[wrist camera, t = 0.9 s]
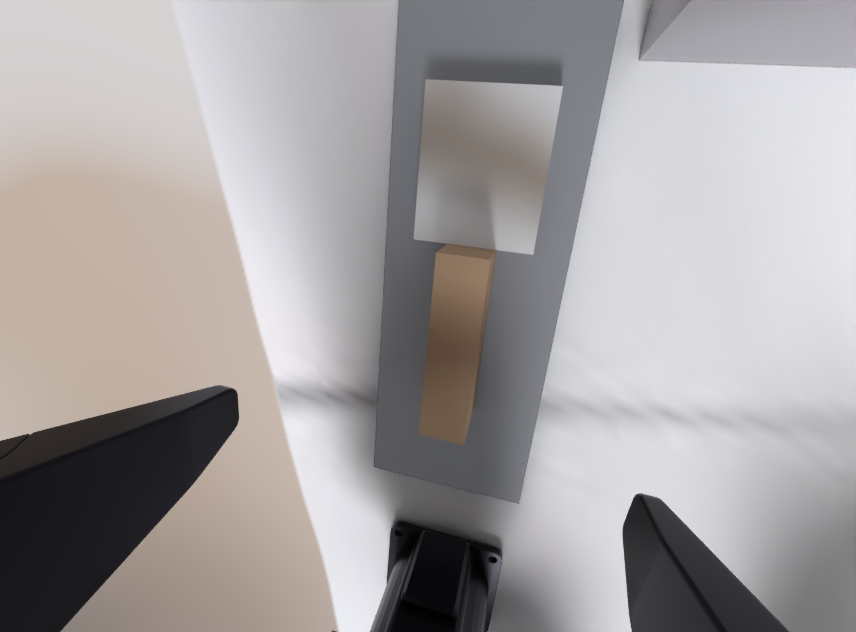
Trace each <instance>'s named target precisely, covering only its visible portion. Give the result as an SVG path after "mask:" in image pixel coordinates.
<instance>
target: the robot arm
mask: <svg viewBox="0 0 856 632" xmlns="http://www.w3.org/2000/svg"><path fill="white" fill-rule="evenodd" d="M238 420H239V410H238V394H237V392H236V390H235V389H233V388H230V387H226V386H222V385H218V386H213V387H209V388H205V389H201V390H197V391H193V392H190V393H186V394H182V395H178V396H174V397H170V398H166V399H162V400H158V401H155V402H151V403H147V404H143V405H139V406H135V407H132V408H127V409H123V410H120V411H116V412H112V413H108V414H104V415H100V416H96V417H92V418H88V419H84V420H80V421H77V422H73V423H69V424H65V425H61V426H57V427H53V428H49V429H45V430H42V431H38V432H34V433H32V434H31V435H30V434H26V435H22V436H18V437H14V438H10V439H6V440H2V441H0V632H60V631H61V630H62V629H63V628H64V627H65V626H66V625H67V624H68V623H69V621H70V620H71V619H72V618H73V617H74V616H75V615H76V614H77V613H78V611H79V610H80V609H81V608H82V607H83V606H84V605H85V604H86V603H87V601H88V600H89V599H90V598H91V597H92V596H93V595H94V594H95V593H96V591H97V590H98V589H99V588H100V587H101V586H102V585H103V583H105V581H106V580H107V579H108V578H109V577H110V576H111V575H112V574H113V573H114V571H115V570H116V569H117V568H118V567H119V566H120V565H121V564H122V563H123V561H124V560H125V559H126V558H127V557H128V556H129V555H130V554H131V552H133V550H134V549H135V548H136V547H137V546H138V545H139V544H140V543H141V542H142V540H143V539H144V538H145V537H146V536H147V535H148V533H150V531H151V530H152V529H153V528H154V527H155V526H156V525H157V524H158V523H159V522H160V520H161V519H162V518H163V517H164V516H165V515H166V514H167V512H168V511H169V510H170V509H171V508H172V507H173V506H174V505H175V504H176V503H177V501H178V500H179V499H180V498H181V497H182V496H183V495H184V494H185V493H186V492H187V490H188V489H189V488H190V487H191V486H192V485H193V483H194V482H195V481H196V480H197V479H198V477H199V476H200V475H201V473H202V472H203V471H204V470H205V468H206V467H207V466H208V464H209V463H210V461H211V460H212V459H213V457H214V456H215V455H216V454H217V452H218V451H219V450H220V448H221V447H222V445H223V444H224V443H225V441H226V440H227V439H228V438H229V436H230V435H231V434H232V432H233V431H234V429H235V428H236V426H237V424H238ZM399 530H400V531H399ZM623 547H624V559H625V571H626V583H627V596H628V607H629V616H630V622H631V629H632V632H789V631H788V630H787V629H786V628H785V627H784V626H783V625H782V624H781V623H780V622H779V621H778V620H777V619H776V618H775V617H774V615H773V614H772V613H771V612H770V611H769V610H768V609H767V608H766V607H765V606H764V605H763V604H762V603H761V602H760V601H759V600H758V599H757V598H756V597H755V596H754V595H753V594H752V593H751V592H750V591H749V590H748V589H747V588H746V587H745V586H744V585H743V583H742V582H741V581H740V580H739V579H738V578H737V577H736V576H735V575H734V574H733V573H732V572H731V571H730V570H729V569H728V568H727V567H726V566H725V565H724V564H723V563H722V562H721V561H720V560H719V559H718V558H717V557H716V556H715V555H714V554H713V553H712V551H711V550H710V549H709V548H708V547H707V546H706V545H705V544H704V543H703V542H702V541H701V540H700V539H699V538H698V537H697V536H696V535H695V534H694V533H693V532H692V531H691V530H690V529H689V528H688V527H687V526H686V525H685V524H684V523H683V522H682V521H681V519H680V518H679V517H678V516H677V515H676V514H675V513H674V512H673V511H672V510H671V509H670V508H669V507H668V506H667V505H666V504H665V503H664V502H663V501H662V500H661V499H659V498H657V497H653V496H649V495H645V494H641V493H639V494H636V495H635V497H634V499H633V501H632V504H631V506H630V509H629V511H628V514H627V517H626V519H625V522H624V525H623ZM491 556H494V557H491ZM501 564H502V552H501V551H500V550H499V549H498V548H495V547H492V546H489V545H485V544H481V543H478V542H474V541H471V540H467V539H463V538H460V537H456V536H452V535H449V534H445V533H442V532H438V531H434V530H431V529H427V528H424V527H420V526H416V525H413V524H409V523H406V522H402V521H397V522H395V523H394V524H393V526H392V529H391V534H390V548H389V561H388V574H387V586H386V589H385V592H384V594H383V597H382V600H381V602H380V605H379V608H378V611H377V613H376V616H375V619H374V622H373V624H372V627H371V630H370V632H487V631H488V627H489V623H490V618H491V613H492V608H493V603H494V598H495V593H496V588H497V583H498V578H499V573H500V569H501ZM332 632H336V631H332Z"/></svg>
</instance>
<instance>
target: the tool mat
mask: <svg viewBox="0 0 856 632" xmlns="http://www.w3.org/2000/svg"><path fill="white" fill-rule="evenodd" d="M623 3H624V0H399V9H398V27H397V46H396V65H395V83H394V102H393V120H392V139H391V158H390V176H389V195H388V214H387V232H386V251H385V270H384V288H383V307H382V326H381V344H380V363H379V382H378V400H377V419H376V438H375V456H374V467H376V468H380V469H383V470H387V471H391V472H395V473H399V474H403V475H407V476H411V477H415V478H419V479H423V480H427V481H431V482H435V483H439V484H443V485H447V486H451V487H455V488H459V489H463V490H467V491H471V492H475V493H479V494H482V495H486V496H490V497H494V498H498V499H502V500H506V501H510V502H514V503H518V504H519V500H520V496H521V491H522V486H523V481H524V476H525V472H526V467H527V462H528V457H529V453H530V448H531V443H532V438H533V433H534V429H535V424H536V419H537V414H538V409H539V405H540V400H541V395H542V390H543V386H544V381H545V376H546V371H547V366H548V362H549V357H550V352H551V347H552V342H553V338H554V333H555V328H556V323H557V319H558V314H559V309H560V304H561V299H562V295H563V290H564V285H565V280H566V275H567V271H568V266H569V261H570V256H571V252H572V247H573V242H574V237H575V232H576V228H577V223H578V218H579V213H580V208H581V204H582V199H583V194H584V189H585V185H586V180H587V175H588V170H589V165H590V161H591V156H592V151H593V146H594V141H595V137H596V132H597V127H598V122H599V118H600V113H601V108H602V103H603V98H604V94H605V89H606V84H607V79H608V74H609V70H610V65H611V60H612V55H613V51H614V46H615V41H616V36H617V31H618V27H619V22H620V17H621V12H622V8H623ZM426 79H429V80H450V81H471V82H491V83H512V84H532V85H553V86H563V90H562V96H561V101H560V107H559V113H558V118H557V124H556V130H555V135H554V141H553V146H552V152H551V158H550V163H549V169H548V175H547V180H546V186H545V192H544V197H543V203H542V208H541V214H540V220H539V225H538V231H537V237H536V242H535V248H534V253H533V255H530V254H522V253H515V252H507V251H500V250H497V254H496V261H495V267H494V274H493V281H492V288H491V295H490V302H489V308H488V315H487V322H486V329H485V336H484V343H483V349H482V356H481V363H480V370H479V377H478V383H477V390H476V397H475V404H474V410H473V413H472V417H471V421H470V425H469V428H468V432H467V436H466V439H465V443H464V445H461V444H456V443H452V442H448V441H443V440H439V439H435V438H430V437H426V436H422V435H419V426H420V415H421V405H422V395H423V384H424V374H425V363H426V353H427V343H428V332H429V322H430V311H431V301H432V290H433V280H434V270H435V259H436V252H437V251H439V250H440V249H442V248H443V247H444V246H446V245H447V244H446V243H438V242H431V241H423V240H415V239H414V226H415V213H416V200H417V187H418V174H419V161H420V148H421V135H422V122H423V108H424V95H425V82H426Z"/></svg>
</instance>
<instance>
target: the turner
mask: <svg viewBox="0 0 856 632" xmlns="http://www.w3.org/2000/svg"><path fill="white" fill-rule="evenodd" d="M562 90H563V86H553V85H532V84H512V83H491V82H471V81H450V80H429V79H426V82H425V95H424V108H423V122H422V135H421V148H420V161H419V174H418V187H417V200H416V213H415V226H414V239H415V240H423V241H431V242H438V243H446V244H447V245H446V246H444V247H443V248H442V249H440V250H439V251H437V252H436V259H435V270H434V280H433V290H432V301H431V311H430V322H429V332H428V343H427V353H426V363H425V374H424V384H423V395H422V405H421V415H420V426H419V435H422V436H426V437H430V438H435V439H439V440H443V441H448V442H452V443H456V444H461V445H464V443H465V439H466V436H467V432H468V428H469V425H470V421H471V417H472V413H473V410H474V404H475V397H476V390H477V383H478V377H479V370H480V363H481V356H482V349H483V343H484V336H485V329H486V322H487V315H488V308H489V302H490V295H491V288H492V281H493V274H494V267H495V261H496V254H497V250H500V251H507V252H515V253H522V254H530V255H533V253H534V248H535V242H536V237H537V231H538V225H539V220H540V214H541V208H542V203H543V197H544V192H545V186H546V180H547V175H548V169H549V163H550V158H551V152H552V146H553V141H554V135H555V130H556V124H557V118H558V113H559V107H560V101H561V96H562Z"/></svg>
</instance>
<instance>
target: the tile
mask: <svg viewBox="0 0 856 632" xmlns="http://www.w3.org/2000/svg"><path fill="white" fill-rule="evenodd" d="M639 61H668V62H696V63H725V64H753V65H782V66H810V67H839V68H856V0H656V1H655V2H654V4H653V5H652V7H651V9H650V14H649V18H648V22H647V27H646V31H645V36H644V40H643V44H642V49H641V53H640V57H639Z"/></svg>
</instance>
